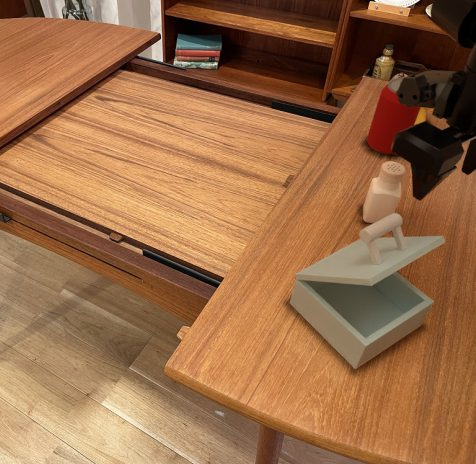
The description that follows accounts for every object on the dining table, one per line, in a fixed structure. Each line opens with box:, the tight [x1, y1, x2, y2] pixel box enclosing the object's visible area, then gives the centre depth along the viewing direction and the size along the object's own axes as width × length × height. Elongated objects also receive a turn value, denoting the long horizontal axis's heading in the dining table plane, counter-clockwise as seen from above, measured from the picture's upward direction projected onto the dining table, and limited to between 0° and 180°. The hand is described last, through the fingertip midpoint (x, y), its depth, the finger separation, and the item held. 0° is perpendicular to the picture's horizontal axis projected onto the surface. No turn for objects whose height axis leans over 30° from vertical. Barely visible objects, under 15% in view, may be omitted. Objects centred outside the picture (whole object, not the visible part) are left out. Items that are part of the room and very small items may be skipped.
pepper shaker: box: [362, 160, 406, 224], centre depth 75 cm, size 4×4×10 cm
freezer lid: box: [294, 212, 446, 286], centre depth 59 cm, size 12×12×5 cm
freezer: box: [289, 271, 435, 370], centre depth 64 cm, size 12×12×5 cm
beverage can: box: [366, 77, 421, 155], centre depth 88 cm, size 7×7×12 cm
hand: (441, 185), depth 64 cm, fingers open, 9 cm apart
